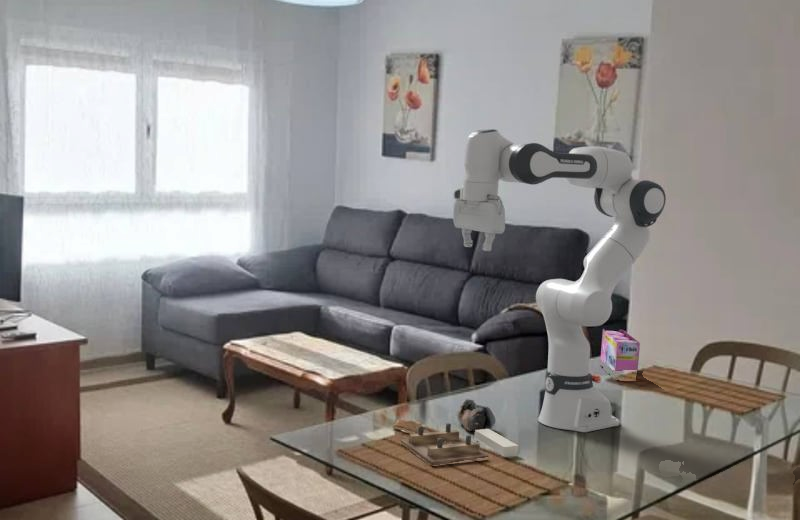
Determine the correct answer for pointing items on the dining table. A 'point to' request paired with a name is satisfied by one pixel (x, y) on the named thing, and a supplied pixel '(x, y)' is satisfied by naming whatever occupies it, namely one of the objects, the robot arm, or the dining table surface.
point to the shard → (407, 425)
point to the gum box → (619, 350)
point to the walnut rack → (443, 446)
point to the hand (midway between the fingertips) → (477, 248)
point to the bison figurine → (475, 416)
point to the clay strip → (497, 442)
